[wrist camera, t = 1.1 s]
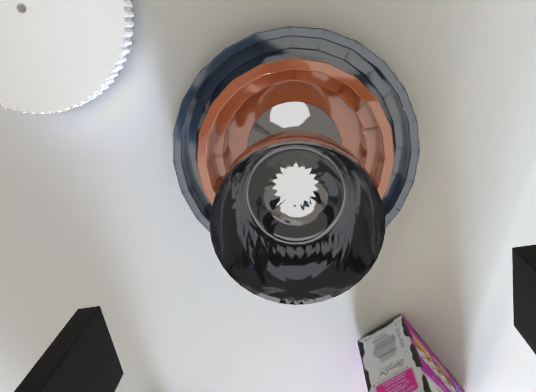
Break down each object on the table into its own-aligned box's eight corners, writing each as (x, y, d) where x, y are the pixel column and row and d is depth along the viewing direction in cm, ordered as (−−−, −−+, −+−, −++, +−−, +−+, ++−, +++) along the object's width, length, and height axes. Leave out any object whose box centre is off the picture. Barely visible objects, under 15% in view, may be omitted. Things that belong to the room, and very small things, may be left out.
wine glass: (289, 72, 33) (288, 103, 19) (369, 143, 35) (423, 222, 21) (220, 153, 35) (174, 235, 21) (298, 217, 37) (303, 333, 23)
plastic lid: (179, 20, 33) (170, 19, 30) (53, 145, 36) (36, 153, 34) (25, -157, 30) (3, -174, 27) (-96, -1, 33) (-126, -3, 31)
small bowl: (188, 74, 34) (176, 80, 30) (372, 39, 33) (382, 40, 29) (227, 239, 38) (221, 261, 35) (391, 213, 37) (402, 234, 33)
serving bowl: (156, 53, 34) (144, 55, 31) (396, 4, 32) (407, 2, 29) (210, 262, 39) (204, 280, 36) (417, 231, 37) (428, 247, 35)
